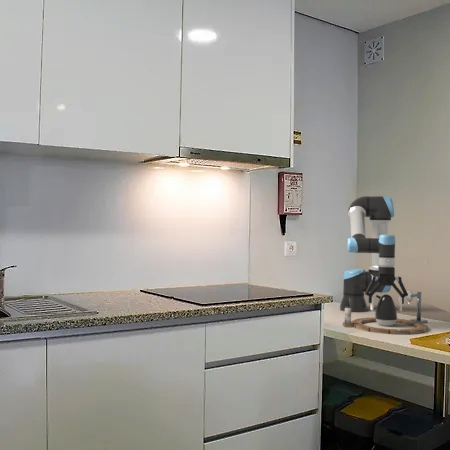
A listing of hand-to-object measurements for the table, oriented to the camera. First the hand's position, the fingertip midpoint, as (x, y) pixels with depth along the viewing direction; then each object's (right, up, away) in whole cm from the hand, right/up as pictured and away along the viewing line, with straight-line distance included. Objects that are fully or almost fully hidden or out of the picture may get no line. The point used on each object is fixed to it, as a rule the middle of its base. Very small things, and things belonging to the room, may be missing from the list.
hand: (386, 310), depth 267 cm
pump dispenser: (0, -8, 0) cm, 8 cm away
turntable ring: (-2, -7, -5) cm, 9 cm away
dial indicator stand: (+16, -8, +7) cm, 19 cm away
